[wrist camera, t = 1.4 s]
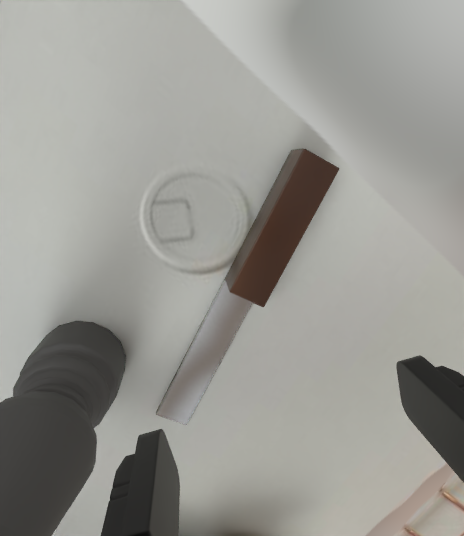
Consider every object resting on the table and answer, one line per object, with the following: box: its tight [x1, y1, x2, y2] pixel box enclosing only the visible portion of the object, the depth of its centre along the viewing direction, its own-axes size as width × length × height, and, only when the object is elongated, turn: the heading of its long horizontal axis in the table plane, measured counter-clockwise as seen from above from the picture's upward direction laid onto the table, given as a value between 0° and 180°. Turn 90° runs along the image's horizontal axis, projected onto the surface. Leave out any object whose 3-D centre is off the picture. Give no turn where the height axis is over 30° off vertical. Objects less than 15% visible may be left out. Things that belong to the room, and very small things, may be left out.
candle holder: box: [0, 321, 126, 536], centre depth 16 cm, size 6×6×25 cm
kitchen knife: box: [156, 149, 339, 425], centre depth 27 cm, size 3×22×3 cm, turn 153°
